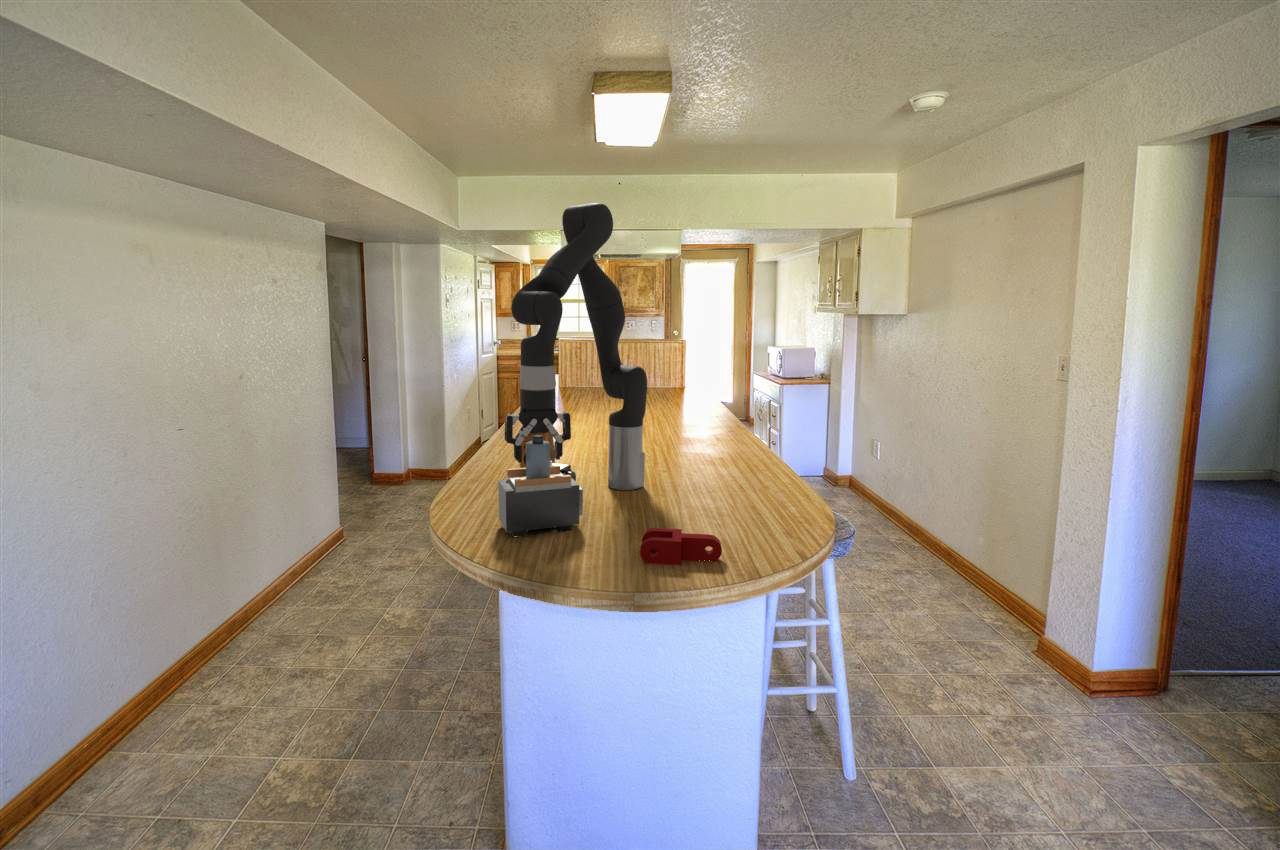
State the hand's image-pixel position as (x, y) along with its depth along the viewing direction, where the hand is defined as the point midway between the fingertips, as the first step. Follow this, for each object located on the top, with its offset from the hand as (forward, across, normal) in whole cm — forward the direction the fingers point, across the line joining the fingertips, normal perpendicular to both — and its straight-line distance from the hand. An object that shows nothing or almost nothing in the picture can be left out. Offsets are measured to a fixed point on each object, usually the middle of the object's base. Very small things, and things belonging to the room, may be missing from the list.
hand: (538, 460), depth 143 cm
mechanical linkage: (+16, -23, +26) cm, 38 cm away
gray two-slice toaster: (+16, 0, 0) cm, 16 cm away
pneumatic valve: (+16, -6, -13) cm, 21 cm away
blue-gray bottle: (+4, 0, 0) cm, 4 cm away
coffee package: (+16, -8, -37) cm, 41 cm away
